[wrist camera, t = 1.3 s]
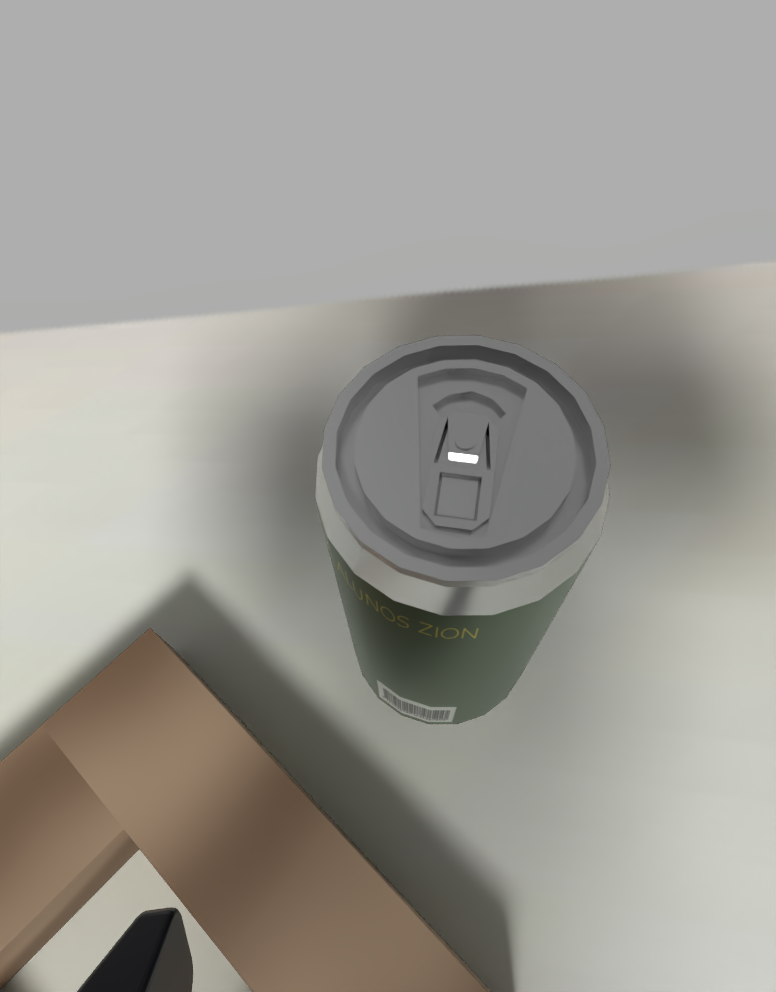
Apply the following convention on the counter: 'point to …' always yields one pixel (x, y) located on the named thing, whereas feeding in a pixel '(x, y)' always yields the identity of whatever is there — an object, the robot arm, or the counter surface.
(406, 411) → the beer can
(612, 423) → the counter surface
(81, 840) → the hole board
